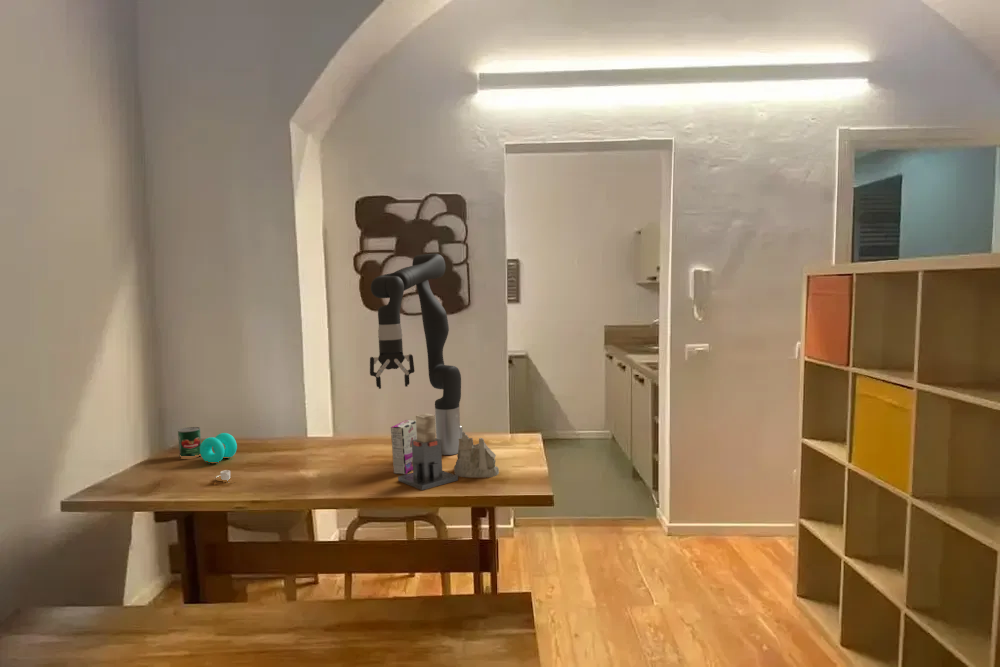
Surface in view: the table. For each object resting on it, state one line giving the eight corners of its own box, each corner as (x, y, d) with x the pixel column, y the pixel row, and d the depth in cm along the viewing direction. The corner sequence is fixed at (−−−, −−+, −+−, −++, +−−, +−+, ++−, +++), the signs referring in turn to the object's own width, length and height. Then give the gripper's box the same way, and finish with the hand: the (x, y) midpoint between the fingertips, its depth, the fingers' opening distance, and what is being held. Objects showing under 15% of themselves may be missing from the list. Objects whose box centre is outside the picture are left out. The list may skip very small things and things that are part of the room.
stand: (433, 471, 224) (431, 432, 223) (458, 480, 213) (456, 439, 212) (398, 480, 215) (396, 440, 214) (422, 490, 204) (420, 447, 203)
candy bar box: (408, 464, 233) (405, 419, 232) (420, 465, 232) (418, 420, 230) (392, 473, 223) (390, 426, 222) (405, 474, 221) (403, 427, 220)
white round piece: (213, 481, 223) (212, 469, 223) (238, 477, 226) (237, 466, 226) (212, 488, 215) (211, 476, 214) (238, 484, 218) (237, 472, 217)
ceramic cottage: (493, 478, 214) (491, 432, 213) (446, 477, 218) (444, 432, 218) (507, 468, 228) (504, 425, 228) (463, 467, 233) (460, 425, 233)
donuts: (199, 464, 244) (197, 437, 243) (217, 457, 254) (215, 431, 253) (221, 465, 241) (219, 438, 240) (239, 458, 251) (237, 432, 250)
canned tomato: (188, 460, 249) (186, 432, 249) (175, 458, 253) (173, 430, 253) (206, 455, 256) (204, 427, 255) (193, 453, 260) (191, 426, 259)
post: (429, 472, 217) (427, 413, 216) (437, 475, 214) (435, 415, 212) (417, 475, 214) (415, 415, 213) (425, 478, 211) (423, 417, 209)
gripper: (411, 335, 217) (413, 384, 219) (367, 338, 214) (370, 387, 216) (413, 337, 210) (416, 387, 212) (368, 340, 207) (371, 391, 208)
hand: (393, 387), depth 214 cm, fingers open, 8 cm apart
